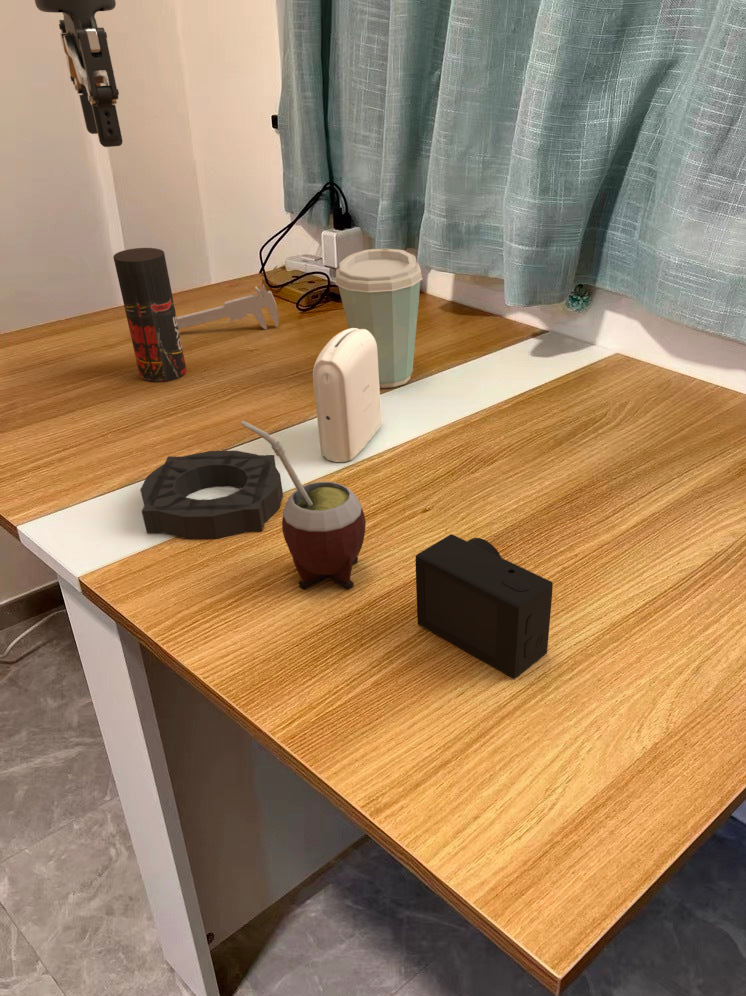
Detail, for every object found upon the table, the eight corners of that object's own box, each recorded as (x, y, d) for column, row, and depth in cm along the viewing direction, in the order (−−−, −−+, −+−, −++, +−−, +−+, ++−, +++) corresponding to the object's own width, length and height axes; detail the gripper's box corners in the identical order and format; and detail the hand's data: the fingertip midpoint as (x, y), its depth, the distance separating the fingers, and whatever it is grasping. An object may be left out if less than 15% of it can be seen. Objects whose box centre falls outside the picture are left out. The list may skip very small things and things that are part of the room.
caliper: (279, 326, 130) (273, 282, 126) (279, 328, 129) (274, 285, 126) (135, 335, 127) (125, 291, 124) (134, 338, 126) (125, 294, 123)
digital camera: (558, 646, 71) (564, 574, 67) (516, 680, 68) (520, 607, 63) (460, 595, 76) (461, 526, 72) (417, 624, 73) (415, 553, 69)
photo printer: (352, 465, 95) (343, 354, 88) (315, 460, 96) (304, 350, 89) (386, 425, 103) (381, 320, 96) (352, 421, 104) (344, 316, 97)
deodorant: (137, 367, 118) (111, 250, 109) (183, 361, 119) (161, 245, 110) (141, 384, 113) (114, 263, 104) (189, 378, 115) (166, 258, 106)
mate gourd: (384, 574, 79) (375, 419, 70) (313, 611, 75) (294, 451, 66) (332, 541, 83) (317, 391, 74) (262, 575, 79) (238, 420, 70)
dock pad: (131, 540, 84) (125, 517, 82) (164, 472, 94) (159, 451, 93) (272, 537, 84) (269, 515, 82) (289, 470, 95) (286, 449, 93)
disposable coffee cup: (417, 398, 109) (413, 274, 100) (332, 393, 111) (321, 270, 102) (432, 365, 118) (429, 248, 109) (353, 361, 119) (344, 245, 110)
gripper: (16, -49, 89) (59, 132, 99) (31, -48, 79) (78, 154, 88) (93, -50, 92) (128, 126, 101) (118, -49, 81) (154, 147, 91)
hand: (105, 139), depth 95 cm, fingers open, 8 cm apart
